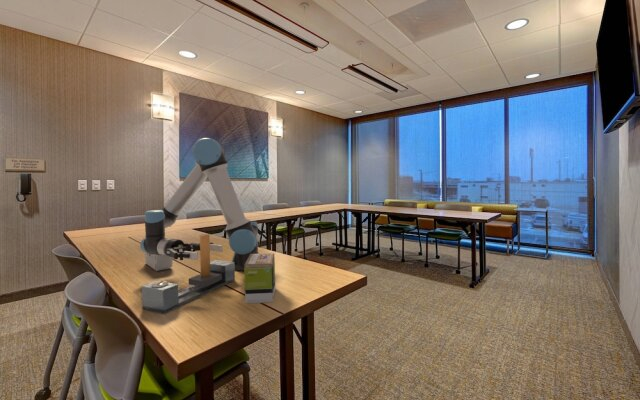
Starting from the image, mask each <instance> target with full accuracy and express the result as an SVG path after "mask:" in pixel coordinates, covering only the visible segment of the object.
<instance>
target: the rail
mask: <svg viewBox="0 0 640 400" xmlns="http://www.w3.org/2000/svg"><path fill="white" fill-rule="evenodd" d="M210 272H213V273H220V274H222V280H220V281H217V282H215V283H213V284H211V285H208V286H206V287H200V286H194V285H189V286H187V287H184V288H182V289H179V284H178V283H172V282H169V281H168V280H156V281H152V282H149V283H147V284H144V285H142V286H141V302H142V307H141V308H142V310H145V311H148V312H149V311H150V312H153V313H158V314H162V315H165V314H167V313H169V312H171V311H174V310H175V309H178V308H179V307H180V308H181V307H182V306H185V305H186V304H188V303H190V302H192V301H194V300H196V299H199V298H200V297H203V296H205V295H208V294H209V293H212V292H213V291H215V290H217V289H220V288H221V287H223V286H225V285H227V284H229V283H232V282H234V281H235V280H236V275H235V274H236V273H235V272H236V270H235V262H232V261H228V260H227V261H226V260H219V259H215V260H212V261H210Z"/></svg>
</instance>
